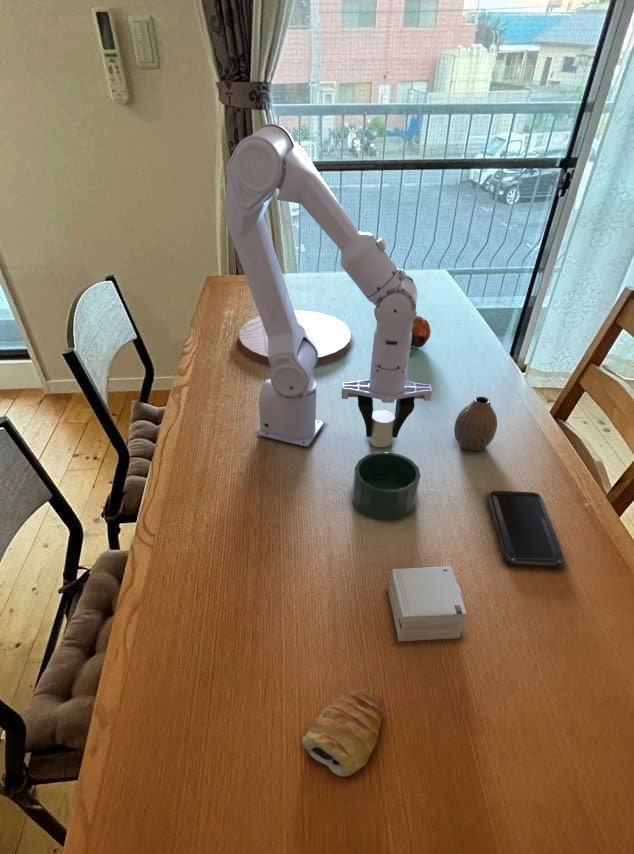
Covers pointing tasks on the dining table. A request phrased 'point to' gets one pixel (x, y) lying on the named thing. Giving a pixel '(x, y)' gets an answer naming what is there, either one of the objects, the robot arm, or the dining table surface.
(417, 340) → the pomegranate
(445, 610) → the small box
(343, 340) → the trivet
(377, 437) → the candle
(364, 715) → the pastry
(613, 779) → the dining table surface
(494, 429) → the vase
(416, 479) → the dark green bowl
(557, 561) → the phone
